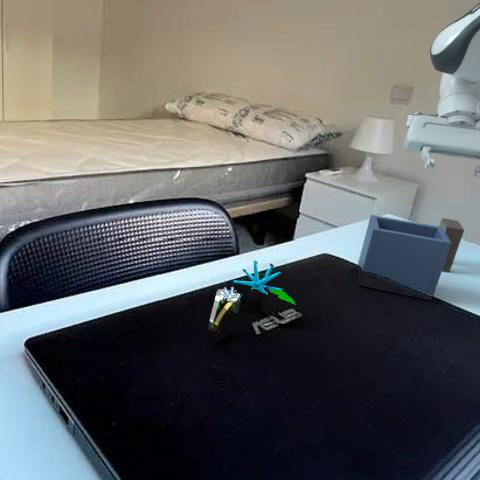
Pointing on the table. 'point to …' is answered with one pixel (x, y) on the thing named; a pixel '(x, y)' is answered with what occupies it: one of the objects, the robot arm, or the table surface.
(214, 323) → the ring
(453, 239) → the brown wooden block
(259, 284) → the blue flower
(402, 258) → the box
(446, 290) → the table surface
